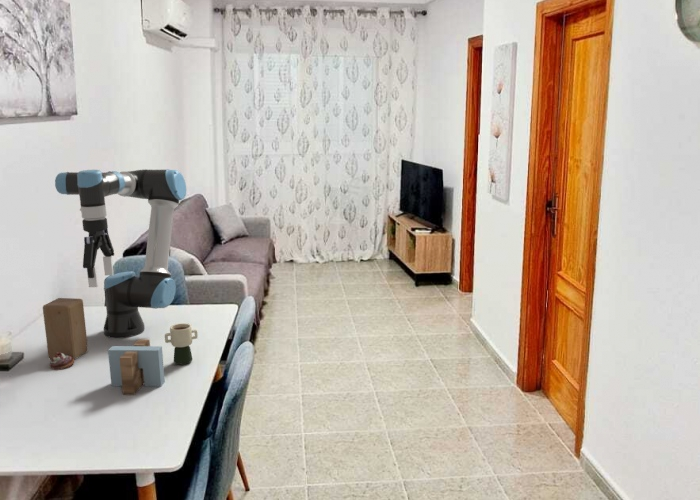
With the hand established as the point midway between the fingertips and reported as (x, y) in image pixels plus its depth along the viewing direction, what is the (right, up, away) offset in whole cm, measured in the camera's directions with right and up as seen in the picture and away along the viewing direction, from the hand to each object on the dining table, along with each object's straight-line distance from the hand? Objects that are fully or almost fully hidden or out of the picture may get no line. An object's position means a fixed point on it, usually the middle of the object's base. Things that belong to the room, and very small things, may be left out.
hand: (101, 281), depth 224 cm
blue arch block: (+15, -32, -9) cm, 37 cm away
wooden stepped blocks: (+15, -32, -9) cm, 37 cm away
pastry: (-16, -30, +7) cm, 34 cm away
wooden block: (-17, -27, +16) cm, 36 cm away
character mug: (+25, -28, +8) cm, 39 cm away
